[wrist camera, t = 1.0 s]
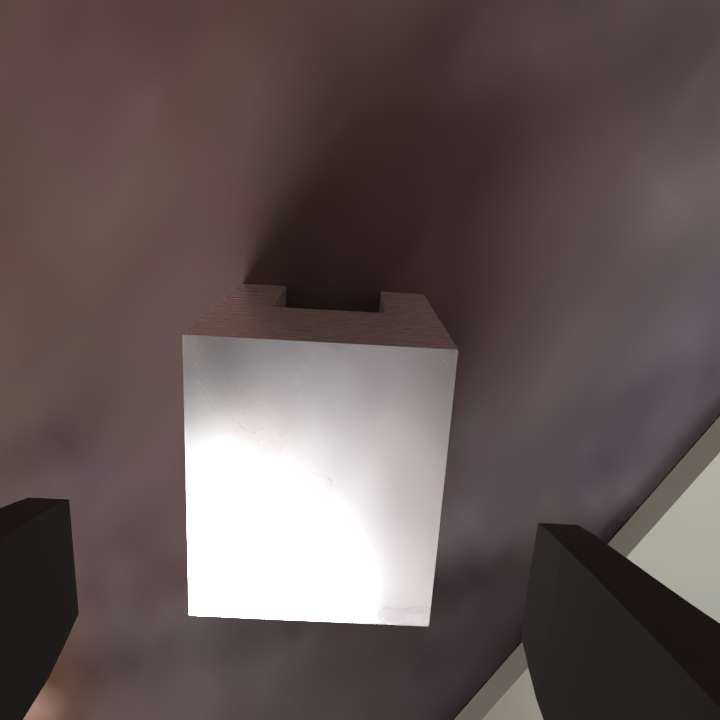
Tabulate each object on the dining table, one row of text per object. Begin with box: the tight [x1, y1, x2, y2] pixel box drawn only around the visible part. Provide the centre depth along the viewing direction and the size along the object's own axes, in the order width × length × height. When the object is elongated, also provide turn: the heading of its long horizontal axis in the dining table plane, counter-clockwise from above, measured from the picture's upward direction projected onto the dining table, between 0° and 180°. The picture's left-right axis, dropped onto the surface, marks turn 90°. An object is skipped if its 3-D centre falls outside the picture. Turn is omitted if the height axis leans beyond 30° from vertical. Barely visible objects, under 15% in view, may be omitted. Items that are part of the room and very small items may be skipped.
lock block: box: [182, 284, 458, 627], centre depth 15 cm, size 6×5×6 cm
